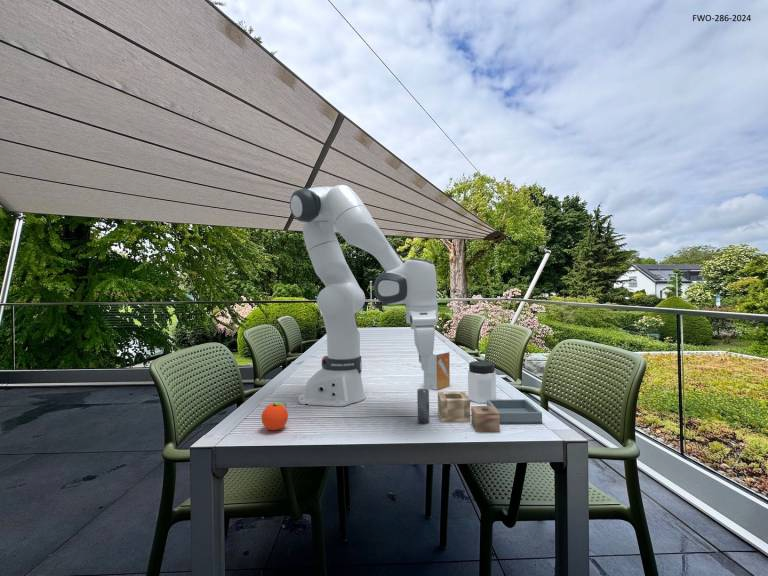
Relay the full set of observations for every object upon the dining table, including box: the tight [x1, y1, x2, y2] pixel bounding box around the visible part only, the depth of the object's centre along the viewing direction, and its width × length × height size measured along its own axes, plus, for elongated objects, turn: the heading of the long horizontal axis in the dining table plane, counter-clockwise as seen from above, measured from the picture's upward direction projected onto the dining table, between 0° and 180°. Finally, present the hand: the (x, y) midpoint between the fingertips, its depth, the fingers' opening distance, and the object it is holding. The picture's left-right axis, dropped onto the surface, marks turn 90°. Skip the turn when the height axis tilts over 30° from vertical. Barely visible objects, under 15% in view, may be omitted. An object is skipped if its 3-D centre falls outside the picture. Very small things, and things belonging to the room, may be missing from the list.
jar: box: [467, 360, 497, 404], centre depth 124 cm, size 9×8×12 cm
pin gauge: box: [416, 387, 430, 425], centre depth 105 cm, size 3×3×9 cm
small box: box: [423, 349, 451, 391], centre depth 141 cm, size 8×6×13 cm
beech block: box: [437, 391, 471, 423], centre depth 109 cm, size 8×8×6 cm
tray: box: [486, 398, 543, 425], centre depth 108 cm, size 12×12×3 cm
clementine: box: [261, 402, 289, 431], centre depth 102 cm, size 8×7×7 cm
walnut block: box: [470, 405, 501, 434], centre depth 100 cm, size 6×6×5 cm
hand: (423, 366), depth 104 cm, fingers open, 8 cm apart
